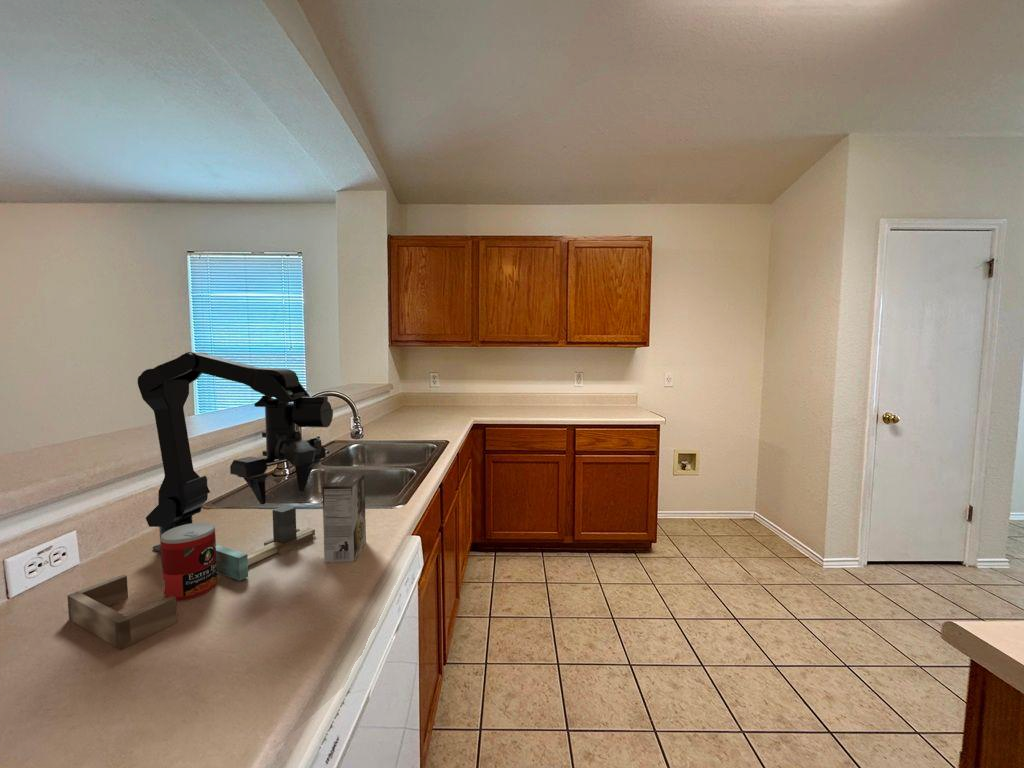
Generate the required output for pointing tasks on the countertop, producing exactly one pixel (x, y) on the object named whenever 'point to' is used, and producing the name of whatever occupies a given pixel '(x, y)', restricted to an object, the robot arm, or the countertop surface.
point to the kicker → (283, 532)
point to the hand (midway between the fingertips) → (283, 497)
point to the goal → (111, 625)
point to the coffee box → (344, 517)
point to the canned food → (189, 560)
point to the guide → (292, 543)
